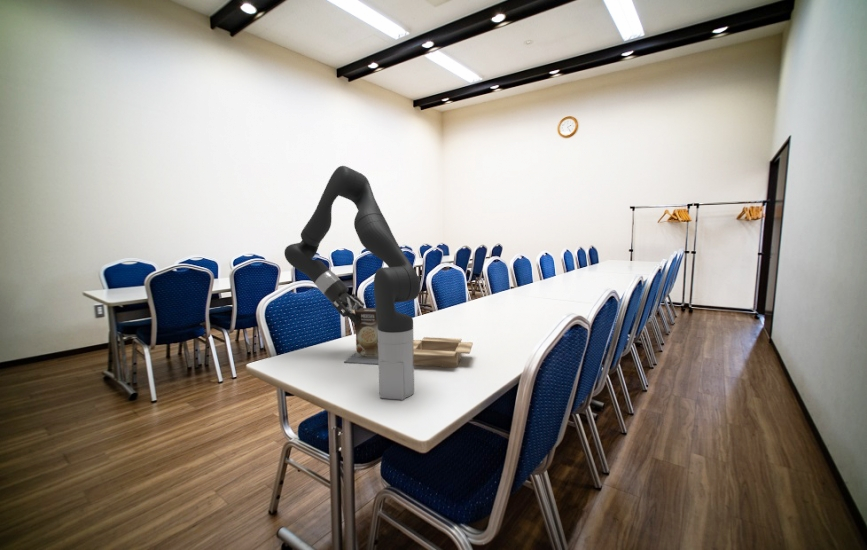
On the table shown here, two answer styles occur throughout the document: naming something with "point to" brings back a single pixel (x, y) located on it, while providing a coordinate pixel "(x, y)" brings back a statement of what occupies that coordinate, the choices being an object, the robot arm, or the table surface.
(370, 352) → the coffee box
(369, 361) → the mat
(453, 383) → the table surface
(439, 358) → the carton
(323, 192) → the robot arm
